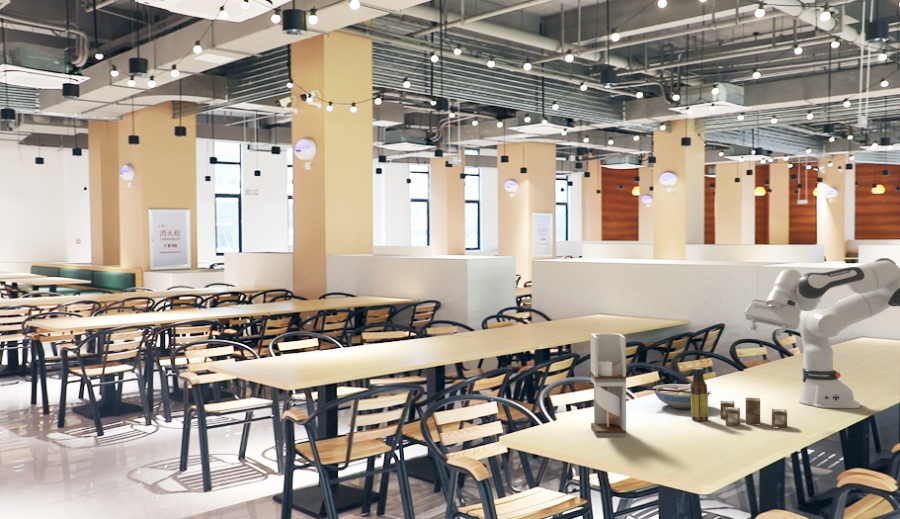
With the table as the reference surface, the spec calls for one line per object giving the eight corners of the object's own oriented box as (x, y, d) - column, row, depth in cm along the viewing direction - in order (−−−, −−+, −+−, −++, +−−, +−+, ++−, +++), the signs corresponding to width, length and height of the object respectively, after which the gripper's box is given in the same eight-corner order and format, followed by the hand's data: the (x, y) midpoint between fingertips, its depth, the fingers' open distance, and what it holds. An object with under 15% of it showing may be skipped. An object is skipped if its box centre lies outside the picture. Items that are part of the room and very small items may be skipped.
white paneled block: (734, 416, 301) (734, 401, 301) (734, 420, 296) (734, 403, 296) (720, 416, 303) (720, 400, 303) (720, 419, 298) (720, 403, 298)
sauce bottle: (708, 418, 299) (708, 367, 298) (708, 422, 293) (708, 369, 292) (690, 417, 301) (690, 366, 300) (690, 421, 295) (690, 369, 294)
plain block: (759, 422, 293) (759, 398, 292) (760, 425, 288) (760, 400, 288) (745, 421, 294) (745, 397, 294) (745, 424, 290) (745, 400, 289)
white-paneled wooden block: (740, 423, 290) (740, 407, 290) (740, 427, 285) (740, 410, 285) (725, 422, 292) (725, 406, 292) (725, 426, 287) (725, 409, 287)
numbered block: (786, 425, 287) (786, 409, 286) (787, 429, 282) (787, 412, 282) (771, 424, 288) (771, 408, 288) (772, 428, 283) (772, 411, 283)
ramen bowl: (716, 403, 324) (716, 384, 324) (710, 415, 304) (710, 394, 303) (655, 399, 335) (655, 380, 335) (645, 410, 314) (645, 390, 314)
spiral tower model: (591, 428, 286) (590, 333, 285) (620, 428, 286) (619, 333, 284) (595, 436, 274) (595, 337, 273) (626, 436, 274) (625, 337, 273)
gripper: (750, 294, 312) (737, 321, 307) (803, 304, 299) (790, 333, 293) (752, 303, 316) (740, 330, 311) (805, 314, 303) (793, 342, 297)
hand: (765, 332), depth 302 cm, fingers open, 8 cm apart
